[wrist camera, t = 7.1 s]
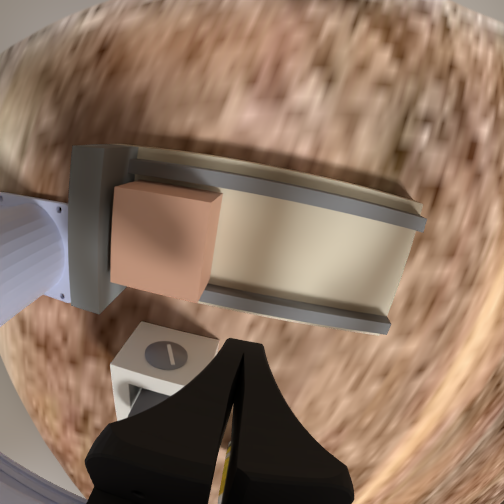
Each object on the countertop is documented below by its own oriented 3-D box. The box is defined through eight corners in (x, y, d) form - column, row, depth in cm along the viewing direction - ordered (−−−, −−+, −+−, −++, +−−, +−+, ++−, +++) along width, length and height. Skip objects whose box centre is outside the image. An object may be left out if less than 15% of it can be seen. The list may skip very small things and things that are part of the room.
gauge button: (152, 385, 22) (129, 431, 17) (152, 358, 21) (125, 405, 16) (187, 395, 22) (169, 444, 17) (189, 368, 21) (169, 418, 16)
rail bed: (111, 271, 22) (71, 305, 16) (120, 143, 19) (72, 145, 13) (373, 324, 21) (395, 372, 16) (413, 200, 18) (455, 219, 13)
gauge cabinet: (142, 378, 25) (117, 423, 19) (141, 317, 22) (109, 360, 17) (210, 396, 24) (196, 446, 19) (219, 336, 22) (204, 387, 17)
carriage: (133, 262, 19) (110, 282, 16) (140, 179, 18) (114, 186, 15) (209, 278, 19) (197, 303, 16) (223, 193, 17) (211, 202, 14)
